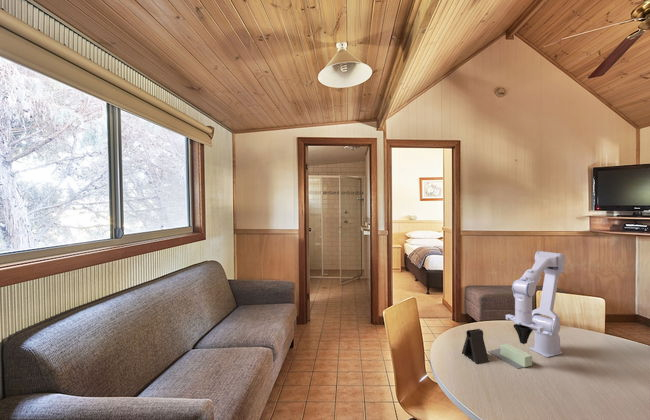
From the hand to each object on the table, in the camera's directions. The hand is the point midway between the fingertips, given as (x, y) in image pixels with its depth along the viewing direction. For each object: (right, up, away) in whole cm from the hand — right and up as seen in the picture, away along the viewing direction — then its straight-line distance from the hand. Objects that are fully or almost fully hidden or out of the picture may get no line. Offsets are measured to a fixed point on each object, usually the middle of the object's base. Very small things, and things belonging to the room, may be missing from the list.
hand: (523, 343), depth 119 cm
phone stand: (-17, -9, +6) cm, 20 cm away
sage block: (+1, -7, -2) cm, 7 cm away
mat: (-2, -9, +5) cm, 10 cm away
